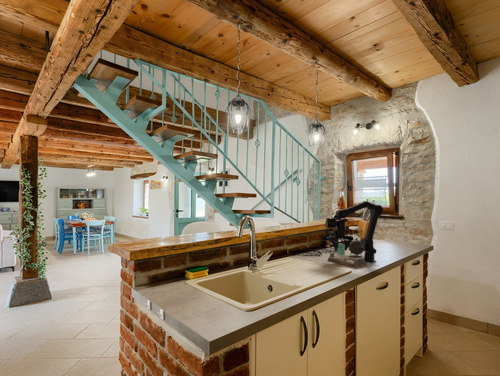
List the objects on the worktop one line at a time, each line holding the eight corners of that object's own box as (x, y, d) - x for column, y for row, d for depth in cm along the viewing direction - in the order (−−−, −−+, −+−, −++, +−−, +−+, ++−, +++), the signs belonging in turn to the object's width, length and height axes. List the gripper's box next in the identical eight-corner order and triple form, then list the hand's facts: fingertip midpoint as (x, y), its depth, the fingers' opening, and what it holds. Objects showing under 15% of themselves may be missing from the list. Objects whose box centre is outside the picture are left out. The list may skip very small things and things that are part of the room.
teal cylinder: (341, 257, 196) (341, 242, 197) (347, 259, 191) (348, 244, 191) (333, 258, 193) (333, 243, 193) (340, 260, 188) (340, 245, 188)
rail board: (340, 258, 200) (340, 251, 200) (366, 265, 181) (366, 257, 181) (327, 260, 194) (327, 252, 194) (353, 267, 175) (353, 259, 175)
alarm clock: (362, 255, 212) (362, 233, 212) (365, 257, 207) (365, 234, 207) (347, 254, 213) (348, 233, 213) (349, 256, 208) (349, 234, 208)
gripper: (341, 226, 204) (341, 247, 204) (322, 227, 195) (322, 250, 195) (354, 228, 194) (353, 250, 194) (334, 229, 185) (334, 253, 185)
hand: (340, 251), depth 192 cm, fingers open, 9 cm apart
